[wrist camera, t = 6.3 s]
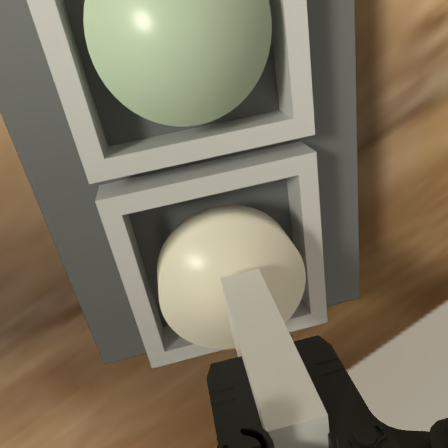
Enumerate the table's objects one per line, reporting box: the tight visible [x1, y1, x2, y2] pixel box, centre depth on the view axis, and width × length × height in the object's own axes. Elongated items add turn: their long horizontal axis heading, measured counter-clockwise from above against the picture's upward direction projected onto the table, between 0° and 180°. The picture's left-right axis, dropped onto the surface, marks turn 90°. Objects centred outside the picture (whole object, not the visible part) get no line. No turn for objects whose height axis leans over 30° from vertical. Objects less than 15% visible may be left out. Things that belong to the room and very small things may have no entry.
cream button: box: [157, 204, 306, 349], centre depth 17 cm, size 6×6×2 cm
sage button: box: [83, 0, 272, 127], centre depth 14 cm, size 6×6×2 cm
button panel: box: [0, 0, 360, 368], centre depth 16 cm, size 14×29×5 cm, turn 10°
